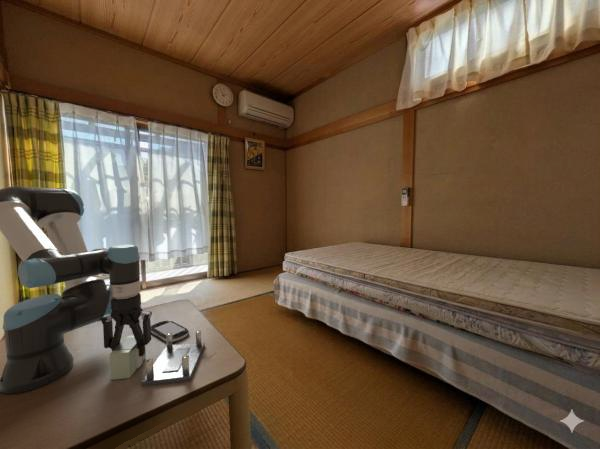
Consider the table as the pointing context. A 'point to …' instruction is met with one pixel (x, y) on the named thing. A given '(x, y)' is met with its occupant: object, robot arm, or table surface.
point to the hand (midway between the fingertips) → (129, 366)
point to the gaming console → (169, 330)
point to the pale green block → (124, 359)
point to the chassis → (174, 362)
